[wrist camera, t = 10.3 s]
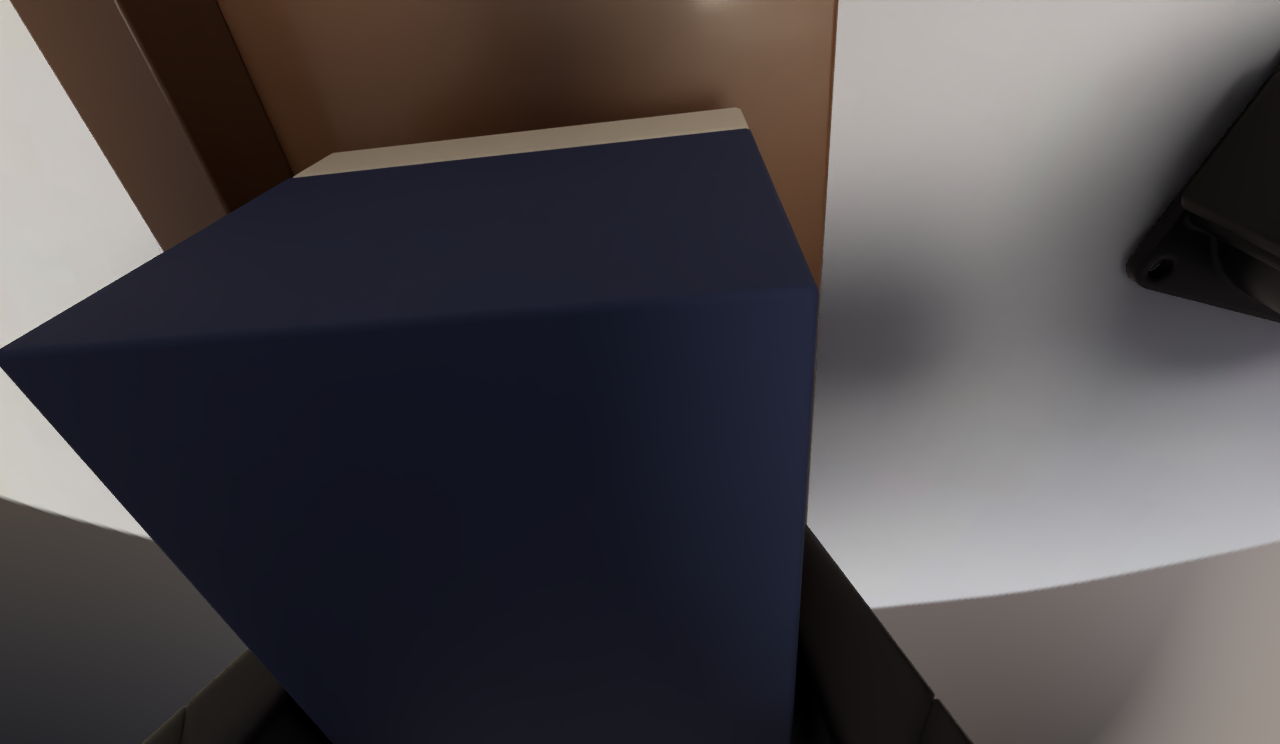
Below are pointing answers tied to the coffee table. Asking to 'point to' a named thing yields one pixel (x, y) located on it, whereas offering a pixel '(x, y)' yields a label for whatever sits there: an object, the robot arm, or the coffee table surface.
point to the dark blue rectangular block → (477, 432)
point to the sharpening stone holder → (424, 85)
